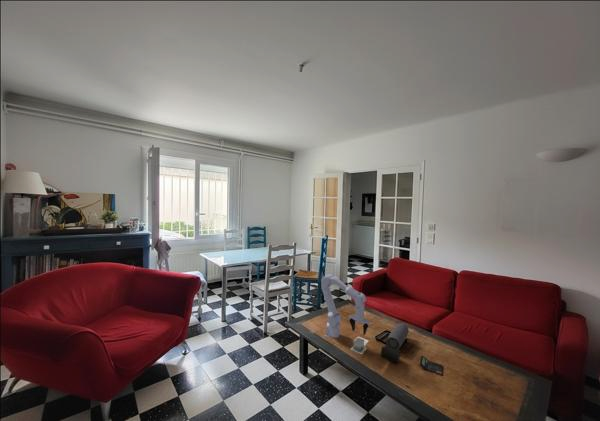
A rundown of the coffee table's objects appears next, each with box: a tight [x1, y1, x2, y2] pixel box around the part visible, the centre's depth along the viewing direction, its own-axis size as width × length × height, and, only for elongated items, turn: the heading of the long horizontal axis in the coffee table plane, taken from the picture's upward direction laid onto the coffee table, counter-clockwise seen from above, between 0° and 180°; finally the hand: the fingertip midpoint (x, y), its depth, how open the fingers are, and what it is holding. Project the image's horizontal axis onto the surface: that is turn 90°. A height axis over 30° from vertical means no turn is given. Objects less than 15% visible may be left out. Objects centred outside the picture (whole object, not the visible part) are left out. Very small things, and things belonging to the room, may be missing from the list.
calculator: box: [419, 355, 444, 376], centre depth 144 cm, size 9×12×3 cm
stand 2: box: [349, 345, 368, 355], centre depth 158 cm, size 8×8×2 cm
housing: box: [353, 337, 365, 352], centre depth 158 cm, size 4×6×5 cm
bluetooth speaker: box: [386, 322, 409, 350], centre depth 167 cm, size 23×9×10 cm, turn 143°
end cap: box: [380, 344, 401, 364], centre depth 150 cm, size 10×7×7 cm
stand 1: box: [353, 336, 369, 347], centre depth 166 cm, size 8×8×2 cm
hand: (358, 332), depth 162 cm, fingers open, 7 cm apart
